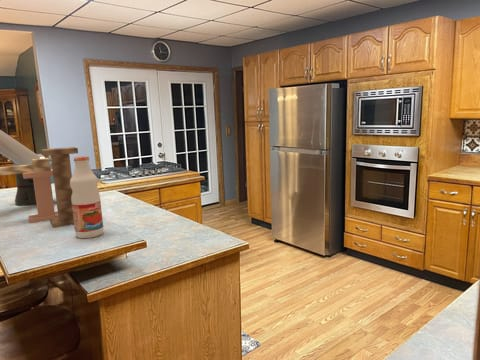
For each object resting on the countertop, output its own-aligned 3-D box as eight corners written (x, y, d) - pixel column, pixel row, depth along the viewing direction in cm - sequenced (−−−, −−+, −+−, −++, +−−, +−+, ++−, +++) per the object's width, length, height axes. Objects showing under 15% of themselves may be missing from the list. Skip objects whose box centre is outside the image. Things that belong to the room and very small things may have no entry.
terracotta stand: (62, 213, 162) (56, 168, 158) (64, 217, 155) (59, 170, 152) (28, 219, 155) (22, 171, 151) (30, 223, 148) (23, 173, 145)
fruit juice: (89, 229, 136) (81, 155, 131) (109, 231, 133) (101, 155, 128) (69, 237, 127) (59, 158, 123) (90, 239, 124) (81, 158, 119)
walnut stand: (81, 217, 154) (73, 147, 149) (85, 222, 147) (77, 148, 142) (50, 222, 148) (40, 149, 143) (53, 227, 140) (43, 150, 135)
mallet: (48, 169, 156) (47, 157, 156) (50, 170, 151) (49, 159, 150) (-7, 174, 146) (-9, 162, 145) (-7, 176, 140) (-9, 163, 139)
